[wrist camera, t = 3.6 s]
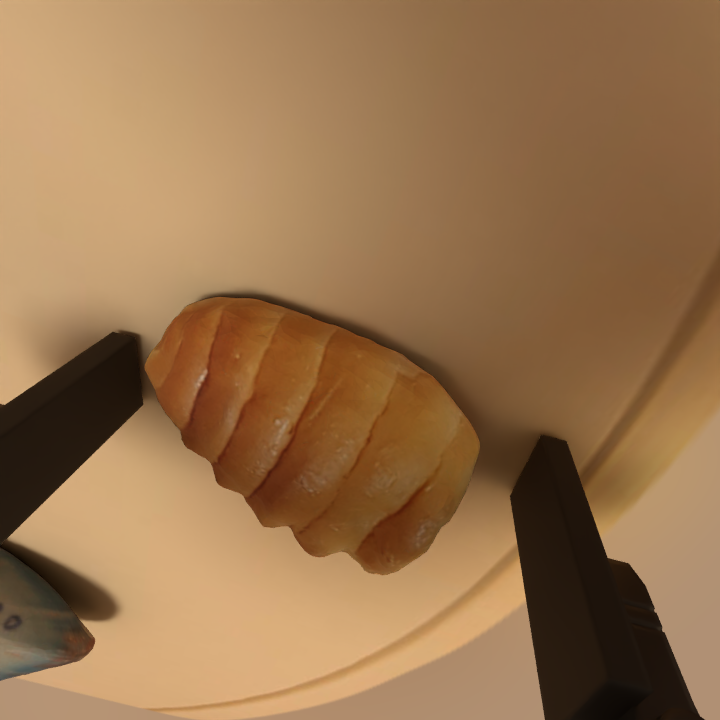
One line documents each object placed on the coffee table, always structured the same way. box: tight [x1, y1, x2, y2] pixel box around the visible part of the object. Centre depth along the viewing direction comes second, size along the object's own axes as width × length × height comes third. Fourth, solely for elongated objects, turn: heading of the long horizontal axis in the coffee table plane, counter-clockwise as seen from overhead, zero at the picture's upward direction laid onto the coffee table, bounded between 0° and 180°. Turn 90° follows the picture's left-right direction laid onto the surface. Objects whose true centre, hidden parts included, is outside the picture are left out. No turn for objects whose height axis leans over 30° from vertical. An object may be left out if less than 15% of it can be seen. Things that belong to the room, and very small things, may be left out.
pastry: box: [144, 297, 480, 575], centre depth 12 cm, size 9×7×4 cm
